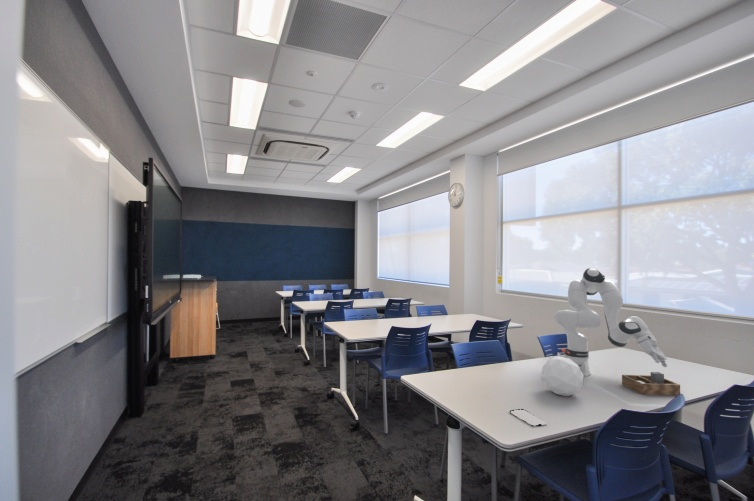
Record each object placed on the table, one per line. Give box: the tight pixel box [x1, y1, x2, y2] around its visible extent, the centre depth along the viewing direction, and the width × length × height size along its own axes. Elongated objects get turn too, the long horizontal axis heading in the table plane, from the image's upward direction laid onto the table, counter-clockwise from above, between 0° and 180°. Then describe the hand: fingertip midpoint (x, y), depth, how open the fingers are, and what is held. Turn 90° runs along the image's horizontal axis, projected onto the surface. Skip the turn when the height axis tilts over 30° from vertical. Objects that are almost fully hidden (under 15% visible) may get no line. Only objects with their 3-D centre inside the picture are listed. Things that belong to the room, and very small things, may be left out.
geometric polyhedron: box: [540, 355, 584, 397], centre depth 183 cm, size 19×20×20 cm
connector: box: [650, 371, 665, 384], centre depth 190 cm, size 5×4×9 cm
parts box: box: [621, 374, 681, 396], centre depth 190 cm, size 20×15×6 cm
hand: (661, 364), depth 193 cm, fingers open, 8 cm apart
